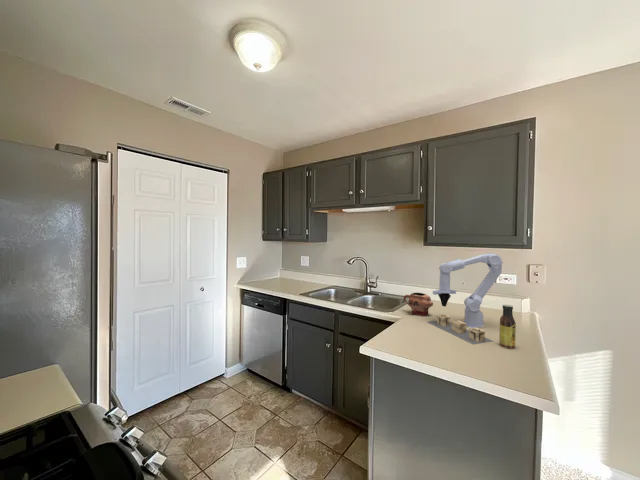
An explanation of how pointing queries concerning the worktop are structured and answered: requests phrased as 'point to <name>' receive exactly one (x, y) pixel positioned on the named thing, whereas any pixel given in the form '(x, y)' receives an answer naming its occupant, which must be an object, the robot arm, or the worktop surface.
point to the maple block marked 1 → (443, 320)
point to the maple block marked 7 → (476, 334)
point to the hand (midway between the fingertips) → (443, 306)
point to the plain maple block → (458, 327)
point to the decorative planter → (419, 303)
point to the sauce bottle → (507, 328)
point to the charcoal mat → (462, 335)
